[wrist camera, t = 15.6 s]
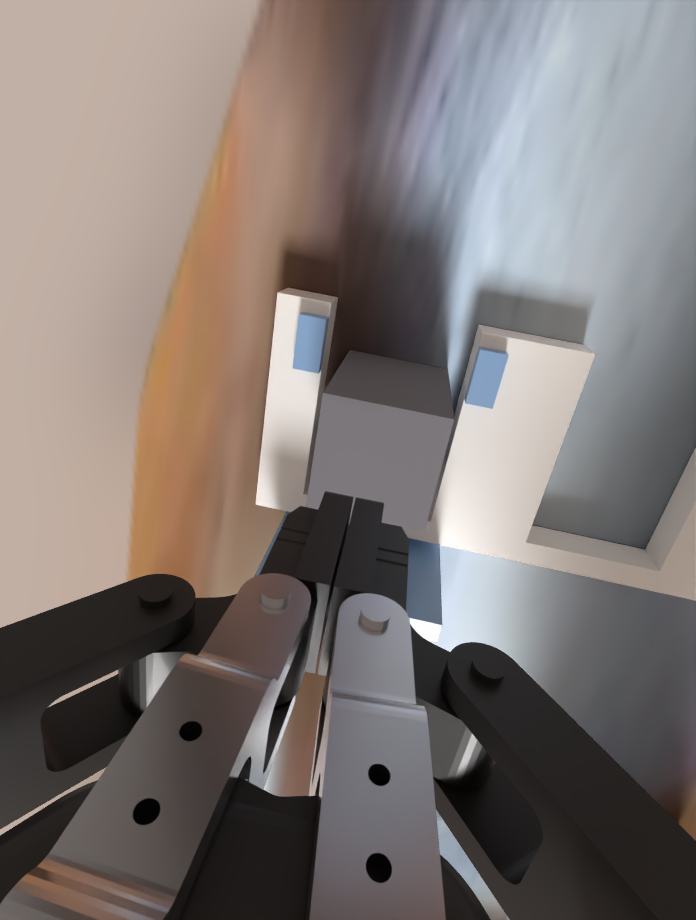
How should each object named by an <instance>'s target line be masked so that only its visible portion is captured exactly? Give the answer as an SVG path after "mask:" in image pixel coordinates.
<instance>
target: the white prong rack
mask: <svg viewBox="0 0 696 920" xmlns="http://www.w3.org/2000/svg"><path fill="white" fill-rule="evenodd" d="M337 302H338V297H334V296H329V295H324V294H319V293H313V292H308V291H303V290H298V289H293V288H286V289H284V290H282V291H280V292H278V294H277V303H276V313H275V323H274V332H273V342H272V351H271V361H270V371H269V380H268V390H267V400H266V409H265V419H264V428H263V438H262V448H261V457H260V467H259V477H258V486H257V496H256V505H260V506H265V507H270V508H274V509H279V510H283V511H286V514H285V516H284V518H283V520H282V522H281V524H280V526H279V528H278V530H277V532H276V534H275V536H274V538H273V540H272V542H271V544H270V546H269V548H268V550H267V552H266V554H265V556H264V558H263V560H262V562H261V564H260V566H259V568H258V570H257V572H256V574H255V576H258V575H259V574H260V572H261V570H262V568H263V566H264V563H265V561H266V559H267V557H268V555H269V553H270V551H271V548H272V546H273V544H274V542H275V540H276V538H277V536H278V533H279V531H280V530H281V527H282V525H283V523H284V521H285V518H286V516H287V515H288V514H289V513H291V512H292V511H294V510H295V509H297V508H298V507H299V506H303V507H307V506H306V503H307V496H308V490H309V483H310V476H311V469H312V463H313V456H314V449H315V442H316V436H317V429H318V422H319V416H320V409H321V402H322V395H323V392H324V388H325V381H326V375H327V368H328V361H329V355H330V348H331V342H332V335H333V329H334V322H335V315H336V309H337ZM595 355H596V354H595V353H594V352H592V351H591V350H590V349H588V348H587V347H586V346H585V345H582V344H577V343H572V342H567V341H562V340H556V339H551V338H546V337H541V336H536V335H531V334H525V333H520V332H515V331H510V330H505V329H499V328H494V327H489V326H484V325H478V329H477V333H476V336H475V340H474V344H473V347H472V351H471V355H470V359H469V362H468V366H467V370H466V373H465V377H464V381H463V385H462V388H461V392H460V396H459V400H458V403H457V407H456V411H455V414H454V422H453V426H452V430H451V434H450V437H449V441H448V445H447V449H446V452H445V456H444V460H443V464H442V467H441V471H440V475H439V479H438V482H437V486H436V490H435V494H434V497H433V501H432V505H431V509H430V512H429V516H428V520H427V524H426V527H425V531H424V532H423V531H419V530H414V529H409V528H405V527H402V528H403V530H404V532H405V534H406V535H407V537H408V539H409V555H408V556H409V558H408V579H407V601H406V613H407V614H408V617H409V619H410V624H411V625H412V627H413V628H414V629H415V631H416V632H417V633H418V634H419V635H421V636H422V637H423V638H424V639H426V640H430V641H434V642H437V640H438V637H439V634H440V631H441V627H442V606H441V576H440V546H439V545H443V546H448V547H452V548H457V549H462V550H466V551H471V552H475V553H480V554H484V555H489V556H494V557H498V558H503V559H507V560H512V561H516V562H521V563H526V564H530V565H535V566H539V567H544V568H548V569H553V570H558V571H562V572H567V573H571V574H576V575H580V576H585V577H590V578H594V579H599V580H603V581H608V582H612V583H617V584H622V585H626V586H631V587H635V588H640V589H644V590H649V591H654V592H658V593H663V594H667V595H672V596H676V597H681V598H686V599H690V600H695V601H696V447H695V449H694V451H693V453H692V456H691V458H690V460H689V462H688V464H687V466H686V468H685V470H684V472H683V474H682V476H681V478H680V480H679V482H678V484H677V486H676V488H675V490H674V492H673V494H672V496H671V498H670V500H669V502H668V504H667V506H666V508H665V510H664V512H663V514H662V516H661V518H660V520H659V523H658V525H657V527H656V529H655V531H654V533H653V535H652V537H651V539H650V541H649V543H648V545H647V547H646V549H640V548H635V547H631V546H626V545H621V544H617V543H612V542H607V541H603V540H598V539H593V538H589V537H584V536H579V535H575V534H570V533H565V532H561V531H556V530H551V529H547V528H542V527H538V526H533V525H532V524H533V521H534V519H535V516H536V513H537V511H538V508H539V505H540V503H541V500H542V497H543V495H544V492H545V489H546V487H547V484H548V481H549V478H550V476H551V473H552V470H553V468H554V465H555V462H556V460H557V457H558V454H559V452H560V449H561V446H562V444H563V441H564V438H565V436H566V433H567V430H568V427H569V425H570V422H571V419H572V417H573V414H574V411H575V409H576V406H577V403H578V401H579V398H580V395H581V393H582V390H583V387H584V384H585V382H586V379H587V376H588V374H589V371H590V368H591V366H592V363H593V360H594V358H595ZM308 508H312V507H308ZM313 509H316V508H313ZM350 519H351V516H350ZM349 523H350V520H349ZM348 527H349V525H348ZM347 531H348V530H347ZM255 576H254V577H255Z"/></svg>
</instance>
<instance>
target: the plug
mask: <svg viewBox="0 0 696 920" xmlns="http://www.w3.org/2000/svg"><path fill="white" fill-rule="evenodd" d="M453 422H454V413H453V406H452V398H451V390H450V383H449V375H448V369H445V368H440V367H435V366H430V365H424V364H419V363H414V362H409V361H404V360H399V359H394V358H389V357H384V356H379V355H374V354H368V353H363V352H358V351H353V350H349V352H348V354H347V355H346V357H345V358H344V360H343V362H342V363H341V365H340V366H339V368H338V370H337V371H336V373H335V374H334V376H333V377H332V379H331V381H330V382H329V384H328V385H327V387H326V389H325V390H324V392H323V395H322V402H321V409H320V416H319V422H318V429H317V436H316V442H315V449H314V456H313V463H312V469H311V476H310V483H309V490H308V496H307V503H306V506H307V507H312V508H316V509H319V506H320V503H321V501H322V498H323V495H324V493H325V491H328V492H333V493H338V494H343V495H347V496H352V497H353V503H352V509H351V514H350V516H351V515H352V511H353V507H354V503H355V499H356V497H358V498H363V499H367V500H372V501H377V502H382V503H384V509H383V516H382V523H386V524H391V525H396V526H401V527H405V528H409V529H414V530H419V531H423V532H424V531H425V527H426V524H427V520H428V516H429V512H430V509H431V505H432V501H433V497H434V494H435V490H436V486H437V482H438V479H439V475H440V471H441V467H442V464H443V460H444V456H445V452H446V449H447V445H448V441H449V437H450V434H451V430H452V426H453Z"/></svg>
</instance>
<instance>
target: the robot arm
mask: <svg viewBox="0 0 696 920" xmlns="http://www.w3.org/2000/svg"><path fill="white" fill-rule="evenodd" d="M352 503H353V497H352V496H347V495H343V494H338V493H333V492H328V491H325V493H324V495H323V498H322V501H321V503H320V506H319V509H313V508H308V507H303V506H299V507H298V508H297V509H295V510H294V511H292V512H291V513H289V514H288V515H287V516H286V518H285V521H284V523H283V525H282V527H281V530H280V531H279V533H278V536H277V538H276V540H275V542H274V544H273V546H272V548H271V551H270V553H269V555H268V557H267V559H266V561H265V563H264V566H263V568H262V570H261V572H260V574H259V575H258V576H255V577H253V578H251V579H249V580H248V581H246V582H245V583H244V584H243V586H242V587H241V588H240V590H239V591H238V593H237V594H235V595H232V596H226V597H217V598H195V591H194V589H193V587H192V586H191V585H190V584H189V583H188V582H187V581H185V580H184V579H182V578H180V577H177V576H173V575H168V574H152V575H146V576H143V577H139V578H136V579H134V580H131V581H128V582H125V583H123V584H120V585H117V586H115V587H112V588H109V589H106V590H104V591H101V592H98V593H95V594H93V595H90V596H87V597H84V598H81V599H79V600H76V601H73V602H70V603H68V604H65V605H62V606H59V607H57V608H54V609H51V610H48V611H46V612H43V613H40V614H37V615H35V616H32V617H29V618H26V619H24V620H21V621H18V622H15V623H13V624H10V625H7V626H5V627H2V628H0V829H1V828H3V827H5V826H7V825H8V824H10V823H11V822H13V821H15V820H17V819H19V818H20V817H22V816H23V815H25V814H27V813H28V812H30V811H32V810H34V809H35V808H37V807H39V806H41V805H42V804H44V803H46V802H47V801H49V800H51V799H52V798H54V797H56V796H57V795H59V794H61V793H63V792H64V791H66V790H68V789H70V788H71V787H73V786H74V785H76V784H78V783H80V782H81V781H83V780H85V779H87V778H88V777H90V776H92V775H93V774H95V773H97V772H98V771H100V770H102V769H104V768H105V767H107V768H106V769H105V771H104V772H103V774H102V775H101V777H100V778H99V780H97V781H95V782H92V783H90V784H87V785H85V786H83V787H80V788H78V789H76V790H74V791H72V792H70V793H68V794H66V795H65V796H63V797H61V798H60V799H58V800H56V801H55V802H53V803H52V804H50V805H48V806H47V807H45V808H44V809H42V810H41V811H39V812H37V813H35V814H34V815H33V816H31V817H29V818H28V819H26V820H24V821H23V822H21V823H20V824H18V825H17V826H15V827H13V828H12V829H10V830H9V831H7V832H5V833H4V834H2V835H1V836H0V920H491V919H490V918H489V916H488V914H487V913H486V911H485V910H484V908H483V906H482V905H481V903H480V901H479V900H478V898H477V897H476V895H475V894H474V892H473V891H472V890H471V888H470V887H469V886H468V884H467V883H466V882H465V880H464V879H463V878H462V876H461V875H460V874H459V873H458V872H457V871H456V870H455V869H454V868H453V867H452V865H451V864H450V863H449V862H448V861H447V860H446V859H445V858H443V857H442V856H441V855H440V850H439V839H438V828H437V817H436V809H437V811H438V812H439V814H440V815H441V817H442V819H443V820H444V822H445V823H446V825H447V826H448V828H449V829H450V831H451V832H452V834H453V835H454V837H455V838H456V840H457V841H458V843H459V844H460V846H461V847H462V849H463V850H464V852H465V853H466V855H467V856H468V858H469V859H470V861H471V862H472V864H473V865H474V867H475V868H476V870H477V871H478V873H479V874H480V876H481V877H482V879H483V880H484V882H485V883H486V885H487V886H488V888H489V889H490V891H491V892H492V894H493V895H494V897H495V898H496V900H497V901H498V903H499V904H500V906H501V907H502V909H503V910H504V912H505V913H506V920H696V841H695V840H694V839H693V838H692V837H691V836H690V835H689V834H688V833H687V832H686V831H685V830H684V829H683V828H682V827H681V826H680V825H679V824H678V823H677V822H676V821H675V820H674V819H673V818H672V817H671V816H670V815H669V814H668V813H667V812H666V811H665V810H664V809H663V808H662V807H661V806H660V805H659V804H658V803H657V802H656V801H655V800H654V799H653V798H652V797H651V796H650V795H649V794H648V793H647V792H646V791H645V790H644V789H643V788H642V787H641V786H640V785H639V784H638V783H637V782H636V781H635V780H634V779H633V778H632V777H631V776H630V775H629V774H628V773H627V772H626V771H625V770H624V769H623V768H622V767H621V766H620V765H619V764H618V763H617V762H616V761H615V760H614V759H613V758H612V757H611V756H610V755H609V754H608V753H607V752H606V751H605V750H604V749H603V748H602V747H601V746H600V745H599V744H598V743H597V742H596V741H594V740H593V739H592V738H591V737H590V736H589V735H588V734H587V733H586V732H585V731H584V730H583V729H582V728H581V727H580V726H579V725H578V724H577V723H576V722H575V721H574V720H573V719H572V718H571V717H570V716H569V715H568V714H567V713H566V712H565V711H564V710H563V709H562V708H561V707H560V706H559V705H558V704H557V703H556V702H555V701H554V700H553V699H552V698H551V697H550V696H549V695H548V694H547V693H546V692H545V691H544V690H543V689H542V688H541V687H540V686H539V685H538V684H537V683H536V682H535V681H534V680H533V679H532V678H531V677H530V676H529V675H528V674H527V673H526V672H525V671H524V670H523V669H522V668H521V667H520V666H519V665H518V664H517V663H516V662H515V661H514V660H513V659H512V658H510V657H509V656H508V655H507V654H505V653H504V652H502V651H501V650H499V649H497V648H495V647H492V646H490V645H486V644H483V643H475V642H470V643H463V644H460V645H458V646H456V647H455V648H454V649H452V651H451V652H449V651H447V650H445V649H442V648H440V647H438V646H436V645H434V644H432V643H431V642H429V641H427V640H426V639H424V638H423V637H422V636H421V635H419V634H418V633H417V632H416V631H415V629H414V628H413V627H412V625H411V624H410V619H409V617H408V614H407V613H406V601H407V579H408V558H409V556H408V555H409V539H408V537H407V535H406V534H405V532H404V530H403V528H402V527H401V526H396V525H391V524H386V523H382V516H383V509H384V503H382V502H377V501H372V500H367V499H363V498H358V497H356V499H355V503H354V507H353V511H352V515H351V519H350V514H351V509H352ZM349 520H350V523H349ZM348 525H349V527H348ZM347 530H348V531H347ZM327 620H328V621H327ZM326 625H327V627H326ZM325 629H326V632H325ZM324 633H325V638H324V643H323V648H322V654H321V659H320V665H319V670H318V674H319V675H324V676H326V679H325V685H324V690H323V695H322V700H321V706H320V711H319V718H318V726H317V734H316V742H315V750H314V758H313V766H312V775H311V783H310V791H309V796H293V797H279V796H275V795H272V794H270V793H268V792H266V791H265V790H263V789H264V786H265V783H266V780H267V777H268V775H269V772H270V769H271V767H272V764H273V761H274V758H275V756H276V753H277V750H278V747H279V745H280V742H281V739H282V736H283V734H284V731H285V728H286V725H287V723H288V720H289V717H290V714H291V712H292V709H293V706H294V702H295V697H296V694H297V692H298V691H299V688H300V686H301V682H302V678H303V674H304V671H305V672H309V673H314V674H315V670H316V666H317V662H318V658H319V653H320V649H321V645H322V641H323V637H324ZM116 670H118V673H119V674H117V675H115V676H113V677H111V678H109V679H107V680H105V681H103V682H101V683H99V684H97V685H94V686H92V687H90V688H88V689H86V690H84V691H82V692H80V693H78V694H76V695H74V696H71V697H69V698H67V699H66V700H63V701H61V702H59V703H57V704H55V705H53V706H51V707H48V706H49V705H50V704H51V703H53V702H54V701H55V700H56V699H58V698H59V697H61V696H63V695H65V694H67V693H69V692H72V691H73V690H76V689H78V688H80V687H82V686H84V685H86V684H88V683H91V682H93V681H95V680H97V679H99V678H101V677H103V676H105V675H108V674H110V673H112V672H114V671H116ZM47 707H48V708H47Z"/></svg>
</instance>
